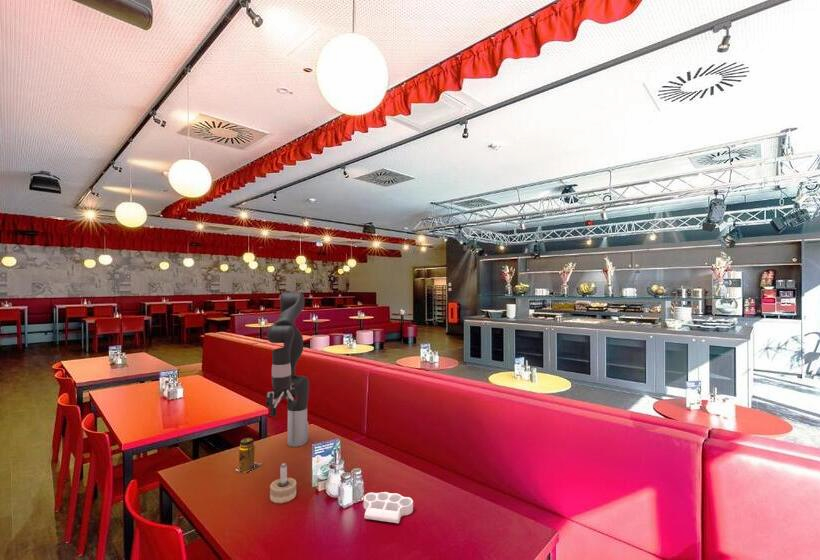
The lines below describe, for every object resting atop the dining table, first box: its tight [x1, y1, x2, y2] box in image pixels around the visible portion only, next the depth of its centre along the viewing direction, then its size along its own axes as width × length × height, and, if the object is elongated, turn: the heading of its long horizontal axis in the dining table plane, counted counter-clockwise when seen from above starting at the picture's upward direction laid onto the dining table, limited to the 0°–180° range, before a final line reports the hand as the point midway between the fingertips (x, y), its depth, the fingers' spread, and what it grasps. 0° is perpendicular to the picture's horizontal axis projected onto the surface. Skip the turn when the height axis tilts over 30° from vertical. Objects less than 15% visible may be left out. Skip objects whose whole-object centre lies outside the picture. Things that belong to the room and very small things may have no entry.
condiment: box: [234, 437, 263, 472], centre depth 161 cm, size 7×8×12 cm
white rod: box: [279, 462, 288, 487], centre depth 140 cm, size 2×2×12 cm
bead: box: [269, 477, 297, 504], centre depth 140 cm, size 9×9×4 cm
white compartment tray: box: [363, 491, 414, 524], centre depth 132 cm, size 3×18×15 cm
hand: (282, 412), depth 154 cm, fingers open, 8 cm apart
